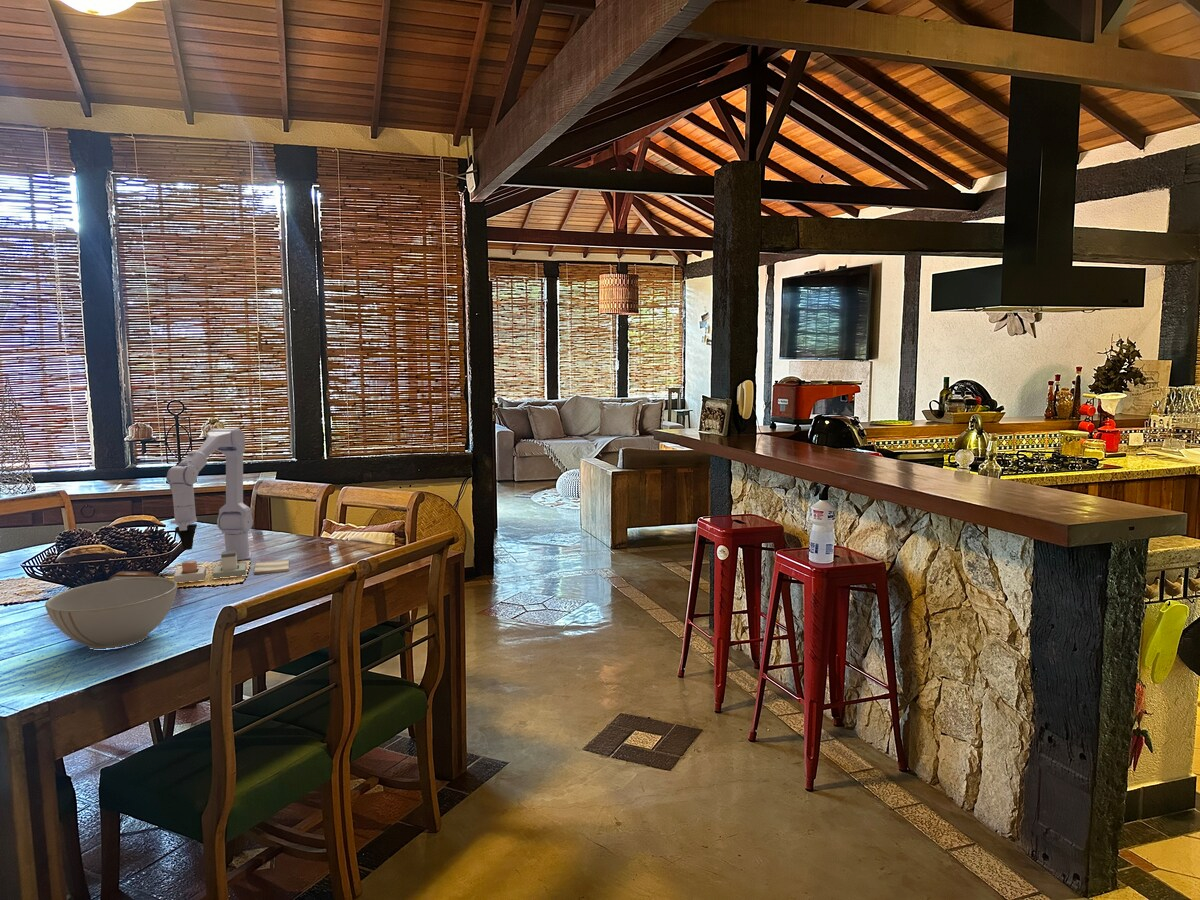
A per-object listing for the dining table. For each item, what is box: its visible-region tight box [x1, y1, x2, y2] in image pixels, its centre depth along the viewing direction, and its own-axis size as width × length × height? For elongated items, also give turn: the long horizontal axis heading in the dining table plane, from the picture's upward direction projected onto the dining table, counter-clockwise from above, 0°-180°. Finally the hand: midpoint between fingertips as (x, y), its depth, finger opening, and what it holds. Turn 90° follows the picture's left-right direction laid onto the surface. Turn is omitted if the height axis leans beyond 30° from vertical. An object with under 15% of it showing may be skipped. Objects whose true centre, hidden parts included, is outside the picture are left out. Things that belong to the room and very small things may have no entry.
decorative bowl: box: [44, 576, 178, 649], centre depth 189 cm, size 27×27×12 cm
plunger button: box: [181, 560, 198, 574], centre depth 242 cm, size 4×4×3 cm
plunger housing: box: [173, 566, 207, 583], centre depth 242 cm, size 8×8×2 cm
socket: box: [212, 562, 248, 579], centre depth 247 cm, size 9×9×2 cm
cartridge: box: [220, 550, 238, 571], centre depth 247 cm, size 4×4×7 cm
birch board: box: [253, 559, 290, 576], centre depth 253 cm, size 12×10×1 cm
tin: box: [107, 570, 158, 581], centre depth 221 cm, size 15×3×8 cm, turn 84°
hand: (188, 549), depth 241 cm, fingers closed
